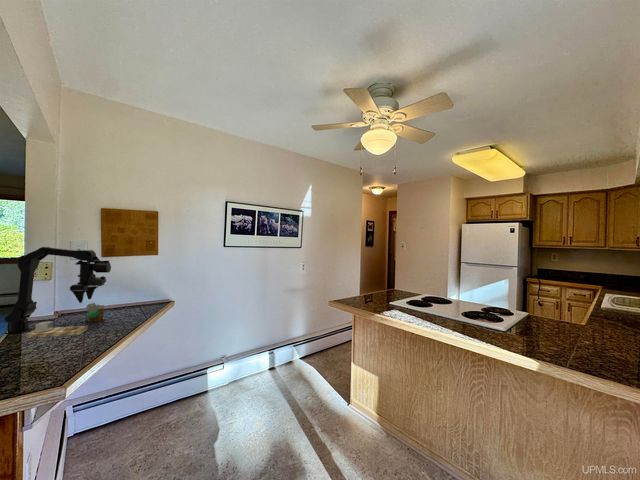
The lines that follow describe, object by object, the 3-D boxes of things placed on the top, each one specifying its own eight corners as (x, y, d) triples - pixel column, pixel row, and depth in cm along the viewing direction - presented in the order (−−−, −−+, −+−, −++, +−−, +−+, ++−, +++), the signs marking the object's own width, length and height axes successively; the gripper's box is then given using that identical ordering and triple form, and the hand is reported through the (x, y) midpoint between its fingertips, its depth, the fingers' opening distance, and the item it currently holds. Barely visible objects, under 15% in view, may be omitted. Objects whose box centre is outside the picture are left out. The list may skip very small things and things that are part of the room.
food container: (81, 321, 158) (81, 304, 158) (93, 319, 163) (94, 302, 163) (91, 324, 152) (91, 307, 152) (103, 322, 157) (104, 305, 158)
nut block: (35, 336, 131) (35, 324, 131) (41, 333, 135) (41, 321, 136) (47, 335, 133) (47, 323, 133) (52, 333, 137) (53, 321, 137)
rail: (24, 338, 128) (25, 334, 128) (37, 332, 137) (37, 328, 137) (78, 334, 135) (78, 330, 135) (87, 329, 143) (87, 325, 143)
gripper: (95, 274, 141) (94, 303, 140) (111, 271, 159) (110, 297, 158) (69, 274, 137) (68, 304, 137) (88, 271, 155) (87, 298, 155)
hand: (85, 301), depth 147 cm, fingers open, 9 cm apart
